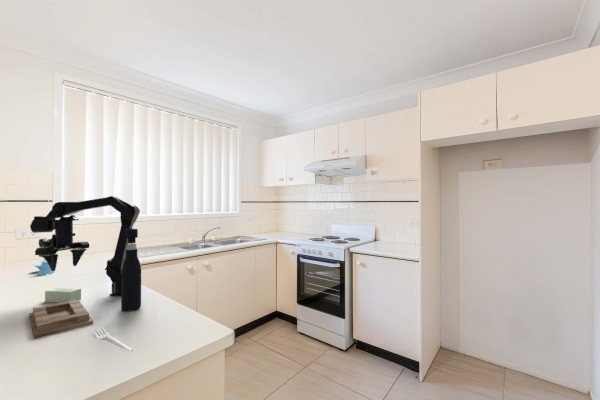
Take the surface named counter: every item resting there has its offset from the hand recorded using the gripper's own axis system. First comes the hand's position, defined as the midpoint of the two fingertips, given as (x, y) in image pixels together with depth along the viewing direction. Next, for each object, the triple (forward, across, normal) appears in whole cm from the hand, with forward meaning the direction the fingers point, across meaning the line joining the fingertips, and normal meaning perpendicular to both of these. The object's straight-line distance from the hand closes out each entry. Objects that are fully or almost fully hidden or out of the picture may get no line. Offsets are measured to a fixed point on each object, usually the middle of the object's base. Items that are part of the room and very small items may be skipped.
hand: (64, 268), depth 117 cm
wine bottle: (+13, +7, +37) cm, 40 cm away
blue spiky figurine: (+12, -39, -57) cm, 70 cm away
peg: (+13, +2, +2) cm, 13 cm away
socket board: (+13, +20, +20) cm, 31 cm away
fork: (+14, +30, +51) cm, 61 cm away
